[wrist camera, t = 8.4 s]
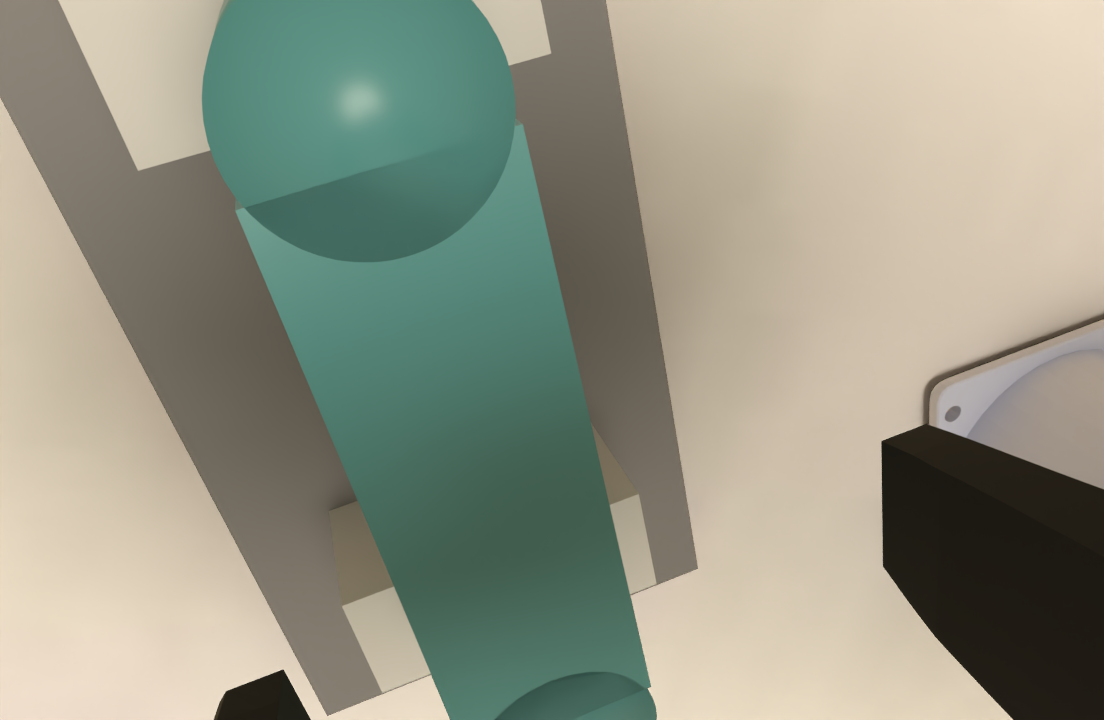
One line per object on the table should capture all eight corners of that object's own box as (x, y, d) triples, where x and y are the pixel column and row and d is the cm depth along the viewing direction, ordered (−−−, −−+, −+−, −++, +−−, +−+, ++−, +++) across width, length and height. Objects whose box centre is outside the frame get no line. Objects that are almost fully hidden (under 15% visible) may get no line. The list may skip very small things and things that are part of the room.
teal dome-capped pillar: (589, 602, 18) (668, 763, 15) (451, 657, 17) (500, 836, 14) (406, -90, 11) (474, -89, 8) (176, -32, 11) (144, -5, 7)
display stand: (674, 533, 24) (754, 651, 20) (322, 670, 22) (338, 826, 19) (512, -383, 14) (611, -493, 10) (-150, -254, 12) (-327, -327, 8)
